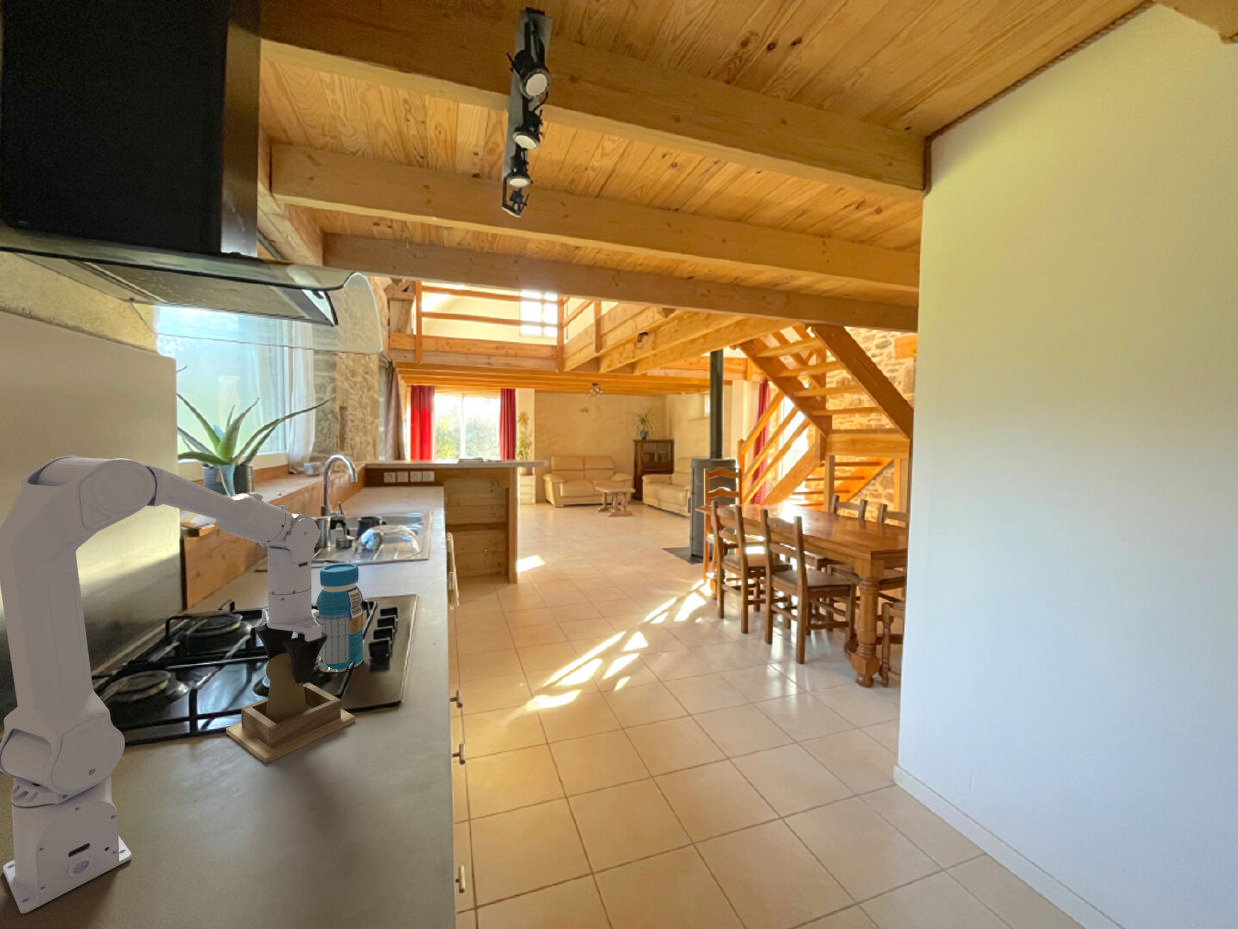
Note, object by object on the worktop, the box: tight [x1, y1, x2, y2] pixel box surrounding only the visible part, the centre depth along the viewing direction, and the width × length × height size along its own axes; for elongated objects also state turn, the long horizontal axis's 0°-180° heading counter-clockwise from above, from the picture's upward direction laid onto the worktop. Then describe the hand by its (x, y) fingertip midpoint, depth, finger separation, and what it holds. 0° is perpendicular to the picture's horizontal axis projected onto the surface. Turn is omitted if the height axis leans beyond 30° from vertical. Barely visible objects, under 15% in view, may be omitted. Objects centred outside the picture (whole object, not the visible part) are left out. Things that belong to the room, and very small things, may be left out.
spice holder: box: [225, 682, 356, 764], centre depth 81 cm, size 13×13×4 cm
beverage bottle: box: [315, 562, 365, 673], centre depth 102 cm, size 8×8×20 cm
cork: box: [265, 653, 308, 724], centre depth 80 cm, size 6×6×11 cm
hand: (291, 674), depth 80 cm, fingers open, 7 cm apart
